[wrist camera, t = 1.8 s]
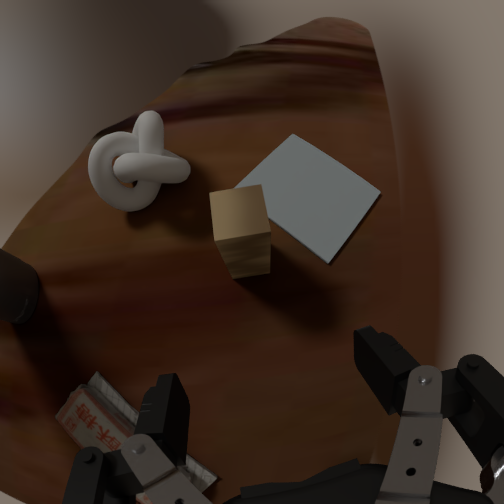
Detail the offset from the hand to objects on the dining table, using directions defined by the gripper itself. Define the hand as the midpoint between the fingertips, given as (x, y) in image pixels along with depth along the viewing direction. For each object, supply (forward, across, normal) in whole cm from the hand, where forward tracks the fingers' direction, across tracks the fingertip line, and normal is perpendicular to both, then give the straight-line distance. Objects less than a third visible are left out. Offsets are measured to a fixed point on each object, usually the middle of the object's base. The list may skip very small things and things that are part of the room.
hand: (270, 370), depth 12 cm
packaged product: (+10, -17, -17) cm, 26 cm away
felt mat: (+24, +10, +5) cm, 26 cm away
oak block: (+20, +1, -1) cm, 20 cm away
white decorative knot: (+28, -10, +10) cm, 31 cm away
